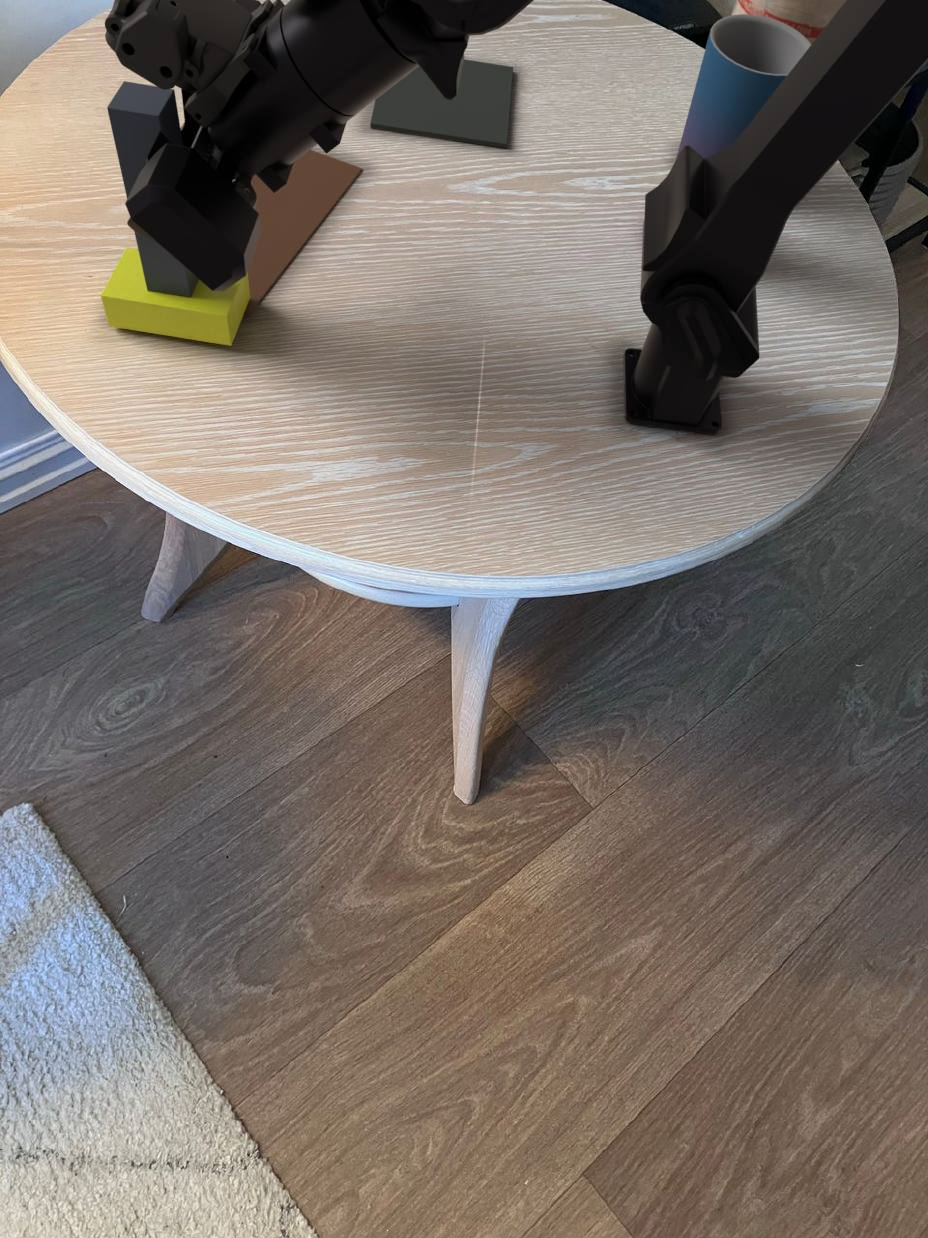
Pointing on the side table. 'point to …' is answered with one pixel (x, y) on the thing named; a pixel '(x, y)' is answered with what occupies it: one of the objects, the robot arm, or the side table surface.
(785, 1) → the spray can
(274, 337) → the side table surface
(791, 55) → the cup
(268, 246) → the brown rectangular board
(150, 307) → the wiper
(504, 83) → the mat
